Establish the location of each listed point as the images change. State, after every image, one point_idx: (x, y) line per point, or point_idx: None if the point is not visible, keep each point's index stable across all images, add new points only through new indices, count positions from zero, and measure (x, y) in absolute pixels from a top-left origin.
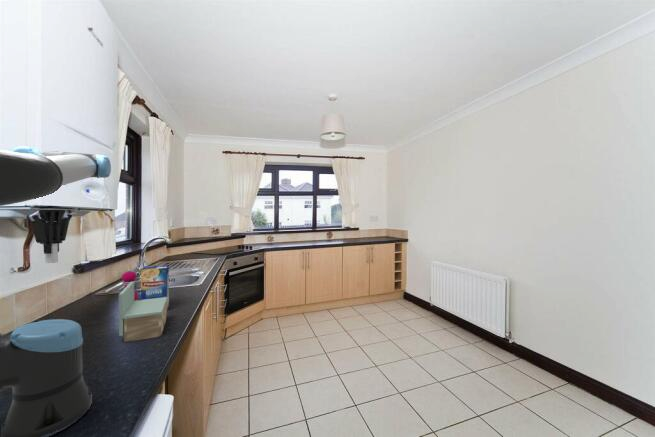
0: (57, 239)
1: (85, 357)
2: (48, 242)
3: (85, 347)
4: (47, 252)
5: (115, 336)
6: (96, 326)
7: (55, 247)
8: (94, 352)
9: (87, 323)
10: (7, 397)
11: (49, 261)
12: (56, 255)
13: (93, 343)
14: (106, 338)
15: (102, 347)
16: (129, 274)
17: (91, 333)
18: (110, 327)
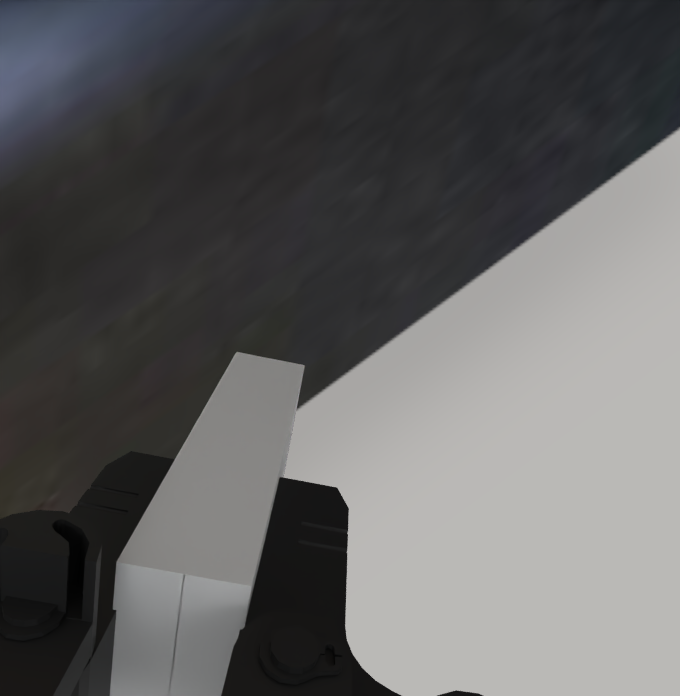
0: (30, 691)
1: (393, 34)
2: (351, 688)
3: (285, 105)
4: (342, 515)
5: (173, 11)
6: (41, 207)
7: (211, 505)
8: (348, 18)
9: (5, 281)
10: (645, 148)
11: (291, 430)
12: (233, 405)
13: (246, 90)
14: (194, 52)
15: (298, 7)
16: None
17: (127, 179)
18: (54, 117)
